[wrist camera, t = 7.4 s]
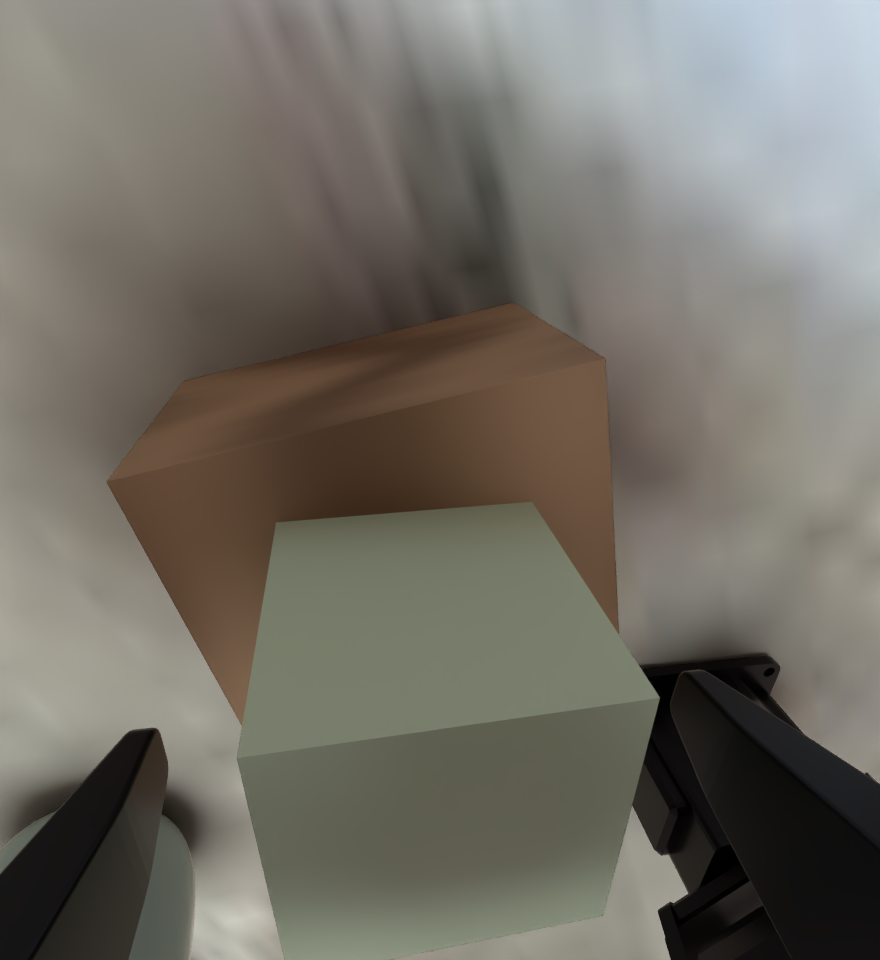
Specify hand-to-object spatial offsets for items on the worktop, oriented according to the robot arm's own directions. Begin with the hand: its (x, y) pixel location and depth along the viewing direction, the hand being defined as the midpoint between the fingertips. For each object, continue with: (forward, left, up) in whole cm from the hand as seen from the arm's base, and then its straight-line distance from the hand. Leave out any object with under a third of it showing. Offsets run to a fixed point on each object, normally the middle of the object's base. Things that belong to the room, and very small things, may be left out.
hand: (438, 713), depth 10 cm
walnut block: (0, 0, -9) cm, 9 cm away
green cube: (0, 0, -3) cm, 3 cm away
